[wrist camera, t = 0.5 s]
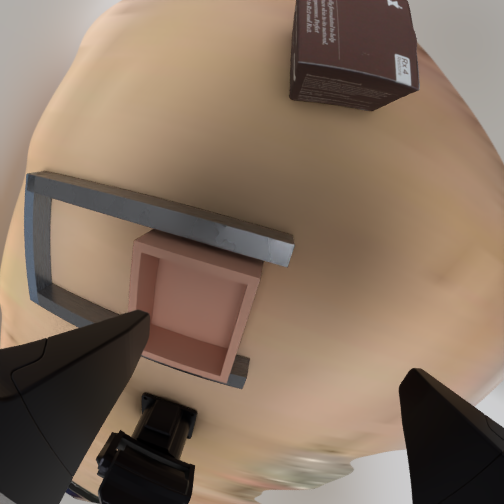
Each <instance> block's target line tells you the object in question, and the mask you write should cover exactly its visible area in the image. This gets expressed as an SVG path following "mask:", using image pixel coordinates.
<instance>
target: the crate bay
mask: <svg viewBox="0 0 504 504" xmlns="http://www.w3.org/2000/svg"><path fill="white" fill-rule="evenodd" d="M51 198H53V199H56V200H60V201H63V202H66V203H70V204H73V205H76V206H80V207H83V208H86V209H90V210H93V211H96V212H100V213H103V214H107V215H110V216H113V217H117V218H120V219H123V220H127V221H130V222H133V223H137V224H140V225H144V226H147V227H150V228H154V229H157V230H161V231H164V232H167V233H171V234H174V235H178V236H181V237H184V238H188V239H191V240H195V241H198V242H202V243H205V244H208V245H212V246H215V247H219V248H222V249H226V250H229V251H232V252H236V253H239V254H243V255H246V256H250V257H253V258H257V259H260V260H264V261H267V262H271V263H274V264H277V265H281V266H284V267H288V264H289V261H290V258H291V255H292V252H293V249H294V246H295V244H294V239H293V235H290V234H287V233H284V232H280V231H277V230H274V229H270V228H267V227H263V226H260V225H256V224H253V223H249V222H246V221H242V220H239V219H235V218H232V217H228V216H225V215H221V214H217V213H214V212H210V211H206V210H203V209H199V208H195V207H192V206H188V205H184V204H180V203H176V202H173V201H169V200H165V199H161V198H157V197H153V196H149V195H145V194H141V193H137V192H133V191H129V190H125V189H121V188H117V187H113V186H109V185H105V184H100V183H96V182H92V181H88V180H83V179H79V178H74V177H70V176H66V175H61V174H56V173H52V172H47V171H41V172H34V173H27V175H26V187H25V207H24V237H25V257H26V269H27V278H28V287H29V294H30V300H32V301H33V302H35V303H36V304H38V305H40V306H41V307H43V308H45V309H46V310H48V311H50V312H51V313H53V314H55V315H57V316H58V317H60V318H62V319H64V320H66V321H67V322H69V323H71V324H73V325H75V326H77V327H79V328H80V327H84V326H87V325H90V324H93V323H96V322H100V321H103V320H106V319H109V318H112V317H115V316H118V315H119V314H116V313H114V312H111V311H109V310H107V309H105V308H102V307H100V306H98V305H96V304H93V303H91V302H89V301H87V300H85V299H83V298H81V297H79V296H76V295H74V294H72V293H70V292H68V291H66V290H64V289H62V288H60V287H58V286H57V285H55V284H53V283H52V279H51V263H50V214H51ZM141 356H142V357H144V358H147V359H149V360H152V361H154V362H157V363H160V364H162V365H165V366H168V367H171V368H173V369H176V370H179V371H182V372H185V373H188V374H191V375H194V376H197V377H201V378H204V379H207V380H210V381H214V382H217V383H221V384H224V385H228V386H232V387H236V388H240V389H242V388H243V386H244V383H245V381H246V378H247V373H248V367H249V360H250V359H249V358H245V357H241V356H238V355H236V356H235V360H234V363H233V366H232V369H231V372H230V375H229V378H228V381H227V384H226V383H223V382H219V381H216V380H212V379H209V378H206V377H202V376H199V375H196V374H193V373H190V372H187V371H184V370H181V369H178V368H175V367H172V366H169V365H167V364H164V363H161V362H158V361H156V360H153V359H151V358H148V357H145V356H143V355H141Z"/></svg>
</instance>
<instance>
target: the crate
mask: <svg viewBox="0 0 504 504" xmlns="http://www.w3.org/2000/svg"><path fill="white" fill-rule="evenodd" d="M262 266H263V260H260V259H257V258H253V257H250V256H246V255H243V254H239V253H236V252H232V251H229V250H226V249H222V248H219V247H215V246H212V245H208V244H205V243H202V242H198V241H195V240H191V239H188V238H184V237H181V236H178V235H174V234H171V233H167V232H164V231H161V230H157V229H153V230H151V231H150V232H148V233H146V234H144V235H143V236H141V237H139V238H137V239H136V240H134V245H133V254H132V264H131V275H130V289H129V308H128V312H131V311H134V310H137V309H139V310H142V311H145V312H148V313H149V314H150V334H149V339H148V342H147V344H146V346H145V348H144V350H143V352H142V355H143V356H145V357H148V358H151V359H153V360H156V361H158V362H161V363H164V364H167V365H169V366H172V367H175V368H178V369H181V370H184V371H187V372H190V373H193V374H196V375H199V376H202V377H206V378H209V379H212V380H216V381H219V382H223V383H226V384H227V381H228V378H229V375H230V372H231V369H232V366H233V363H234V360H235V356H236V353H237V350H238V347H239V344H240V341H241V338H242V335H243V332H244V329H245V326H246V323H247V320H248V316H249V313H250V310H251V307H252V304H253V301H254V298H255V295H256V291H257V288H258V285H259V282H260V279H261V272H262Z"/></svg>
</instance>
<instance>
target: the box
mask: <svg viewBox="0 0 504 504" xmlns="http://www.w3.org/2000/svg"><path fill="white" fill-rule="evenodd" d="M419 89H420V84H419V70H418V61H417V38H416V34H415V32H414V29H413V24H412V18H411V13H410V8H409V4H408V1H407V0H296V6H295V14H294V23H293V31H292V49H291V70H290V95H289V97H290V99H292V100H299V101H310V102H320V103H327V104H334V105H340V106H345V107H351V108H357V109H361V110H366V111H374V110H376V109H378V108H380V107H382V106H385V105H387V104H389V103H391V102H393V101H395V100H397V99H399V98H401V97H404V96H406V95H408V94H410V93H413V92H416V91H418V90H419Z"/></svg>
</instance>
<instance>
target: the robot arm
mask: <svg viewBox="0 0 504 504" xmlns="http://www.w3.org/2000/svg"><path fill="white" fill-rule="evenodd" d="M149 334H150V314H149V313H148V312H145V311H142V310H139V309H137V310H134V311H131V312H128V313H125V314H121V315H118V316H115V317H112V318H109V319H106V320H103V321H100V322H96V323H93V324H90V325H87V326H84V327H80V328H77V329H74V330H71V331H68V332H64V333H61V334H58V335H54V336H51V337H48V339H47V338H44V339H41V340H38V341H34V342H30V343H27V344H23V345H19V346H14V347H9V348H4V349H0V504H59V503H60V501H61V499H62V498H63V495H64V493H65V492H66V490H67V488H68V486H69V484H70V482H71V480H72V479H73V477H72V476H74V475H75V473H76V471H77V469H78V467H79V465H80V464H81V462H82V460H83V458H84V456H85V455H86V453H87V451H88V449H89V448H90V446H91V444H92V442H93V441H94V439H95V437H96V435H97V434H98V432H99V430H100V428H101V427H102V425H103V423H104V422H105V420H106V418H107V416H108V415H109V413H110V411H111V410H112V408H113V406H114V405H115V403H116V401H117V400H118V398H119V396H120V395H121V393H122V392H123V390H124V388H125V387H126V385H127V383H128V382H129V380H130V378H131V376H132V374H133V372H134V370H135V368H136V365H137V363H138V361H139V359H140V357H141V355H142V352H143V350H144V348H145V346H146V344H147V342H148V339H149ZM399 397H400V406H401V416H402V425H403V431H404V437H405V443H406V449H407V455H408V463H409V470H410V479H411V488H412V500H413V504H504V428H503V427H502V426H500V425H499V424H497V423H496V422H495V421H493V420H492V419H490V418H489V417H488V416H486V415H484V414H483V413H482V412H481V411H479V410H478V409H477V408H475V407H474V406H472V405H471V404H470V403H468V402H467V401H466V400H464V399H463V398H461V397H460V396H459V395H457V394H456V393H454V392H453V391H452V390H450V389H449V388H448V387H446V386H445V385H443V384H442V383H441V382H439V381H438V380H436V379H435V378H434V377H432V376H431V375H430V374H428V373H427V372H425V371H424V370H423V369H420V368H412V369H411V370H410V371H409V372H408V374H407V375H406V377H405V378H404V380H403V381H402V382H401V384H400V386H399ZM196 417H197V412H196V411H195V410H192V409H189V408H186V407H183V406H180V405H177V404H174V403H171V402H168V401H165V400H163V399H160V398H157V397H155V396H152V395H150V394H147V393H143V395H142V416H141V418H140V420H139V422H138V424H137V426H136V428H135V430H134V432H133V434H132V436H131V437H130V436H129V435H127V434H125V432H123V431H121V430H120V431H119V433H113V432H112V433H111V435H110V437H109V439H108V440H107V442H106V444H105V445H104V447H103V448H102V450H101V451H100V453H99V455H98V456H97V458H96V461H97V463H98V469H99V471H98V473H97V475H98V476H100V477H102V478H104V479H103V481H102V483H101V485H100V487H99V490H98V495H99V500H100V504H188V503H189V501H190V498H191V495H192V489H193V480H194V471H195V465H193V464H188V463H186V462H183V461H181V460H180V457H181V454H182V451H183V448H184V444H185V441H186V438H188V439H190V438H191V437H192V433H193V429H194V425H195V421H196ZM117 449H118V451H117Z"/></svg>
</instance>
